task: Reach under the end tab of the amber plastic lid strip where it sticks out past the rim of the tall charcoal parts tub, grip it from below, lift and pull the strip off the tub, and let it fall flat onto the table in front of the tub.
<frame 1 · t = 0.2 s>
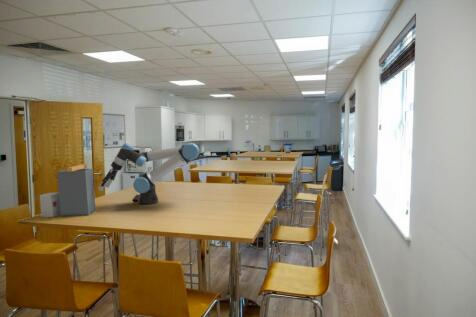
hand: (103, 188, 237), 15 cm above the table, tool tilted 35°, fingers open, 13 cm apart
parts tub: (78, 213, 225), on the table
lid strip: (77, 169, 226), point 30 cm above the table, touching parts tub
supplement box: (51, 215, 222), on the table
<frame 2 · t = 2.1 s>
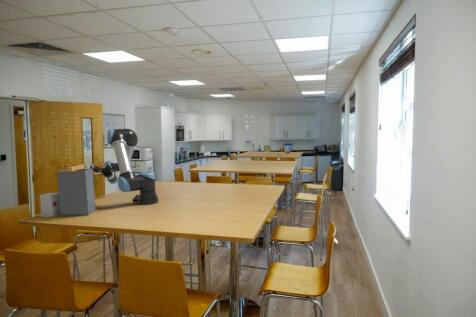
hand: (99, 163, 253), 32 cm above the table, tool pointing upward, fingers open, 13 cm apart
nothing on the table moved.
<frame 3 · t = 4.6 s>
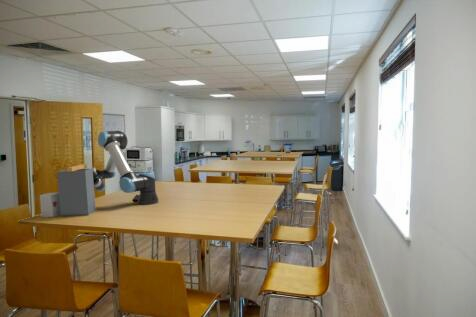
hand: (84, 169, 239), 29 cm above the table, tool pointing upward, fingers open, 13 cm apart
nothing on the table moved.
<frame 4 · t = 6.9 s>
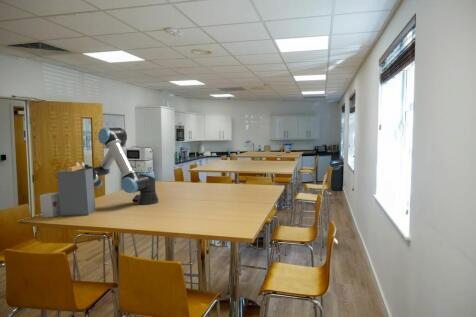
hand: (79, 163, 229), 34 cm above the table, tool pointing upward, fingers closed on lid strip, 3 cm apart
lid strip: (77, 169, 226), point 30 cm above the table, touching gripper, parts tub
everything else where it was.
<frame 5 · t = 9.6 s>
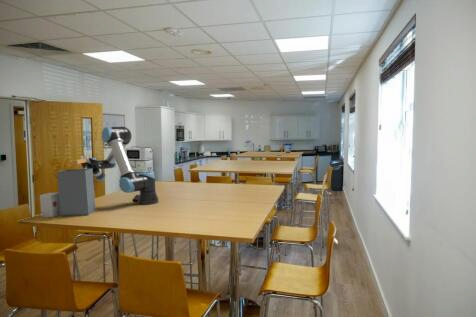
hand: (84, 157, 238), 38 cm above the table, tool pointing upward, fingers closed on lid strip, 3 cm apart
lid strip: (82, 162, 234), point 34 cm above the table, touching gripper
everything else where it was.
when the fingers open (26 cm above the table, at t = 12.5 s): lid strip drops 22 cm, on the table.
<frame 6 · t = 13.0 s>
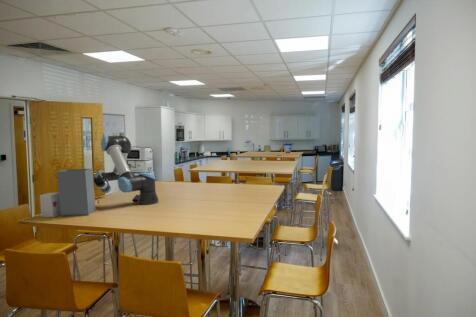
hand: (91, 172, 251), 25 cm above the table, tool pointing upward, fingers open, 11 cm apart
lid strip: (91, 206, 248), on the table
everything else where it was.
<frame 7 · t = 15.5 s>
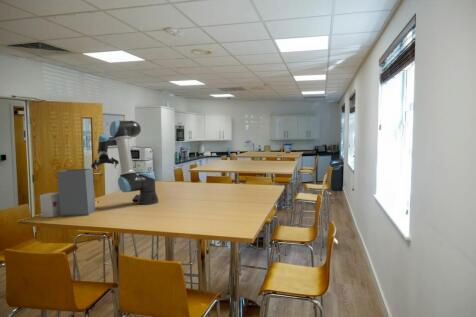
hand: (106, 168, 255), 27 cm above the table, tool tilted 70°, fingers open, 13 cm apart
nothing on the table moved.
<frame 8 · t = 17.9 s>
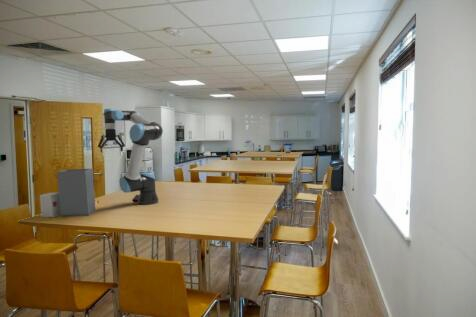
hand: (112, 155, 258), 37 cm above the table, tool pointing down, fingers open, 13 cm apart
nothing on the table moved.
at the end: lid strip inside the target area (0.3 cm from its centre), on the table; lid strip touching table; the gripper is holding nothing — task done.
